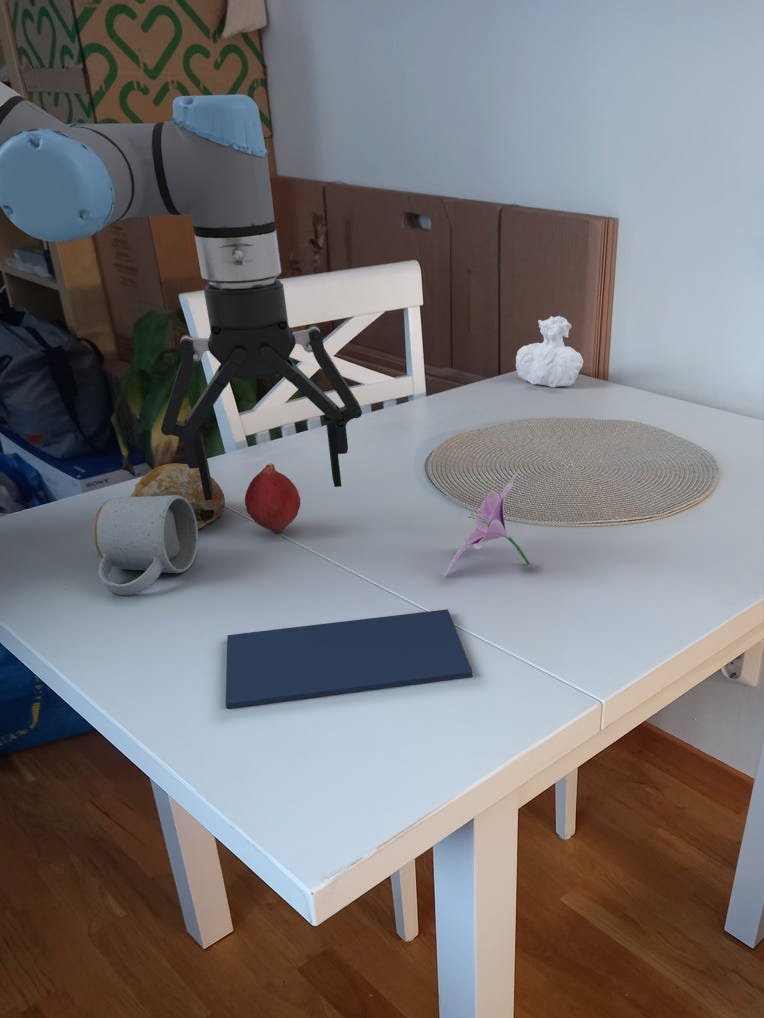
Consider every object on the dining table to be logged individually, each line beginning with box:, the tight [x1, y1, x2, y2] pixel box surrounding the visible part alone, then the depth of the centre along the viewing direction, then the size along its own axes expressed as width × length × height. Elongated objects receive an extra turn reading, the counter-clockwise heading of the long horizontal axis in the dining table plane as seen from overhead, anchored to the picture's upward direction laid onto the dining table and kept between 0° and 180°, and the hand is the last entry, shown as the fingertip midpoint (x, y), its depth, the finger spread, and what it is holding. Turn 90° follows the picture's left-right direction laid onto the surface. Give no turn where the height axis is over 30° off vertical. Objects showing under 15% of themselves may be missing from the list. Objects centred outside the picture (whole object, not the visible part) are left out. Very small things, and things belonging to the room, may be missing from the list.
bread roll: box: [129, 462, 226, 530], centre depth 105 cm, size 10×10×8 cm
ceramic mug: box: [92, 495, 199, 596], centre depth 92 cm, size 11×8×8 cm
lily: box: [444, 469, 531, 577], centre depth 93 cm, size 12×12×10 cm
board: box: [225, 608, 474, 709], centre depth 80 cm, size 20×11×1 cm, turn 102°
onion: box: [244, 462, 301, 534], centre depth 100 cm, size 6×6×8 cm
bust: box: [515, 315, 584, 388], centre depth 150 cm, size 12×8×11 cm
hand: (273, 489), depth 100 cm, fingers open, 13 cm apart
